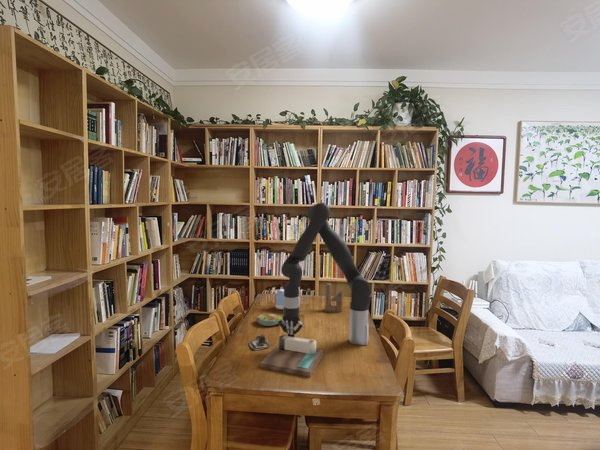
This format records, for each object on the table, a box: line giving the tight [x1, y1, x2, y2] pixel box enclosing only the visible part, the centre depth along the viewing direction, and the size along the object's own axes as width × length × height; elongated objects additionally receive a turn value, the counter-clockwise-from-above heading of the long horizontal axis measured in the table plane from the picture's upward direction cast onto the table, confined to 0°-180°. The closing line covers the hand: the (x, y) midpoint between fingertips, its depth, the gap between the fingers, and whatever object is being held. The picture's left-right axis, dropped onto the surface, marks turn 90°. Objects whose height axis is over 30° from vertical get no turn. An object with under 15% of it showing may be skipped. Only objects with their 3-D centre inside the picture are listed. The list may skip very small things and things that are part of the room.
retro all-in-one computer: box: [275, 288, 301, 310], centre depth 205 cm, size 21×19×14 cm
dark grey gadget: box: [249, 334, 270, 351], centre depth 153 cm, size 12×6×11 cm
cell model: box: [256, 313, 283, 327], centre depth 179 cm, size 11×8×15 cm
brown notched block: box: [324, 282, 343, 313], centre depth 203 cm, size 4×11×18 cm, turn 81°
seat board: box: [259, 343, 324, 378], centre depth 137 cm, size 22×20×2 cm
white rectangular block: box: [278, 334, 317, 354], centre depth 143 cm, size 18×4×6 cm, turn 71°
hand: (290, 341), depth 147 cm, fingers closed
